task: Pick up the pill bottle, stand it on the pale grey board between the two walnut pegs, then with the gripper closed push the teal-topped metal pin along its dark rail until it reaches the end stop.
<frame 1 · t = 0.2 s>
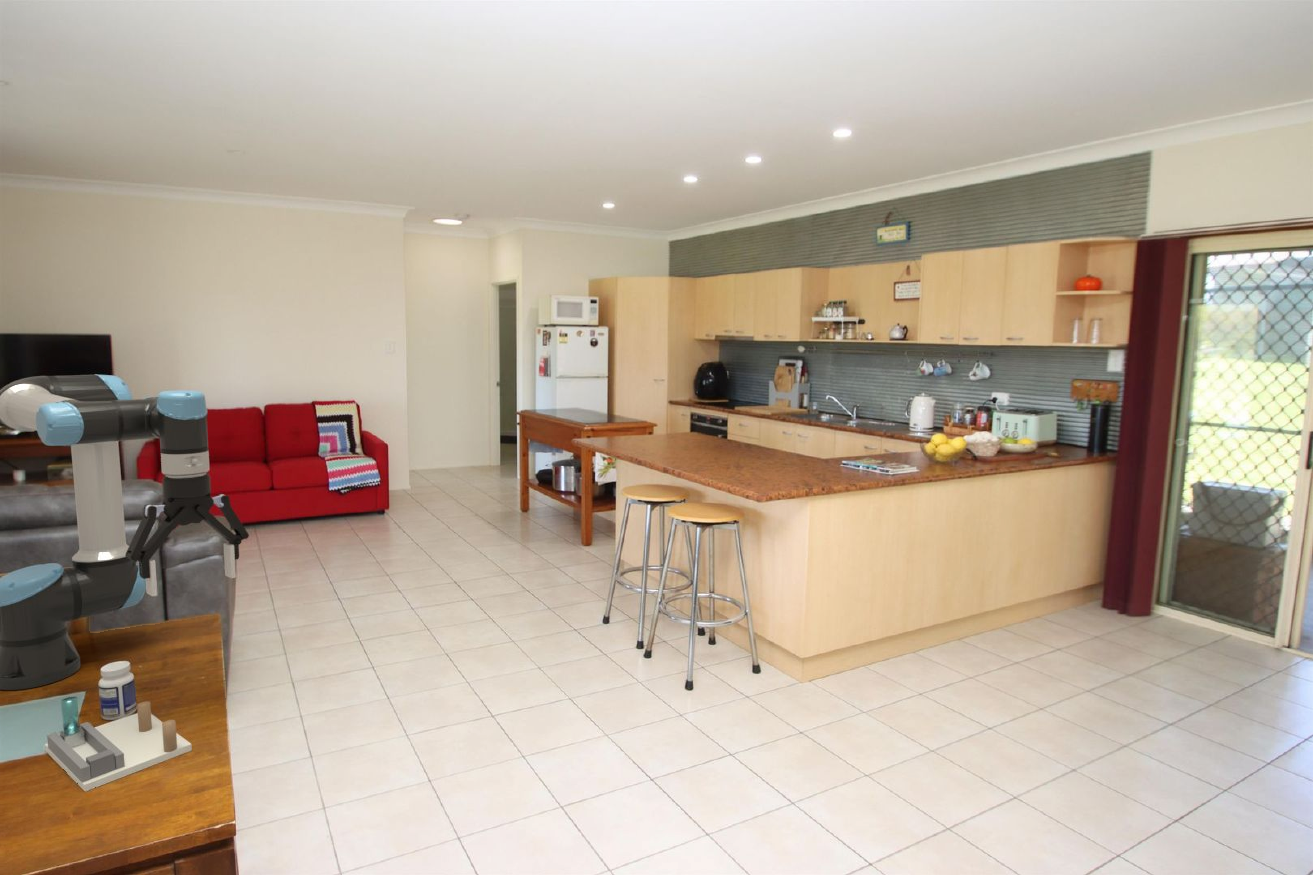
hand: (192, 585, 142), 27 cm above the table, fingers open, 13 cm apart
pill bottle: (119, 714, 148), on the table
board: (118, 750, 135), on the table
pin: (70, 721, 134), point 5 cm above the table, slide at 0.0 cm
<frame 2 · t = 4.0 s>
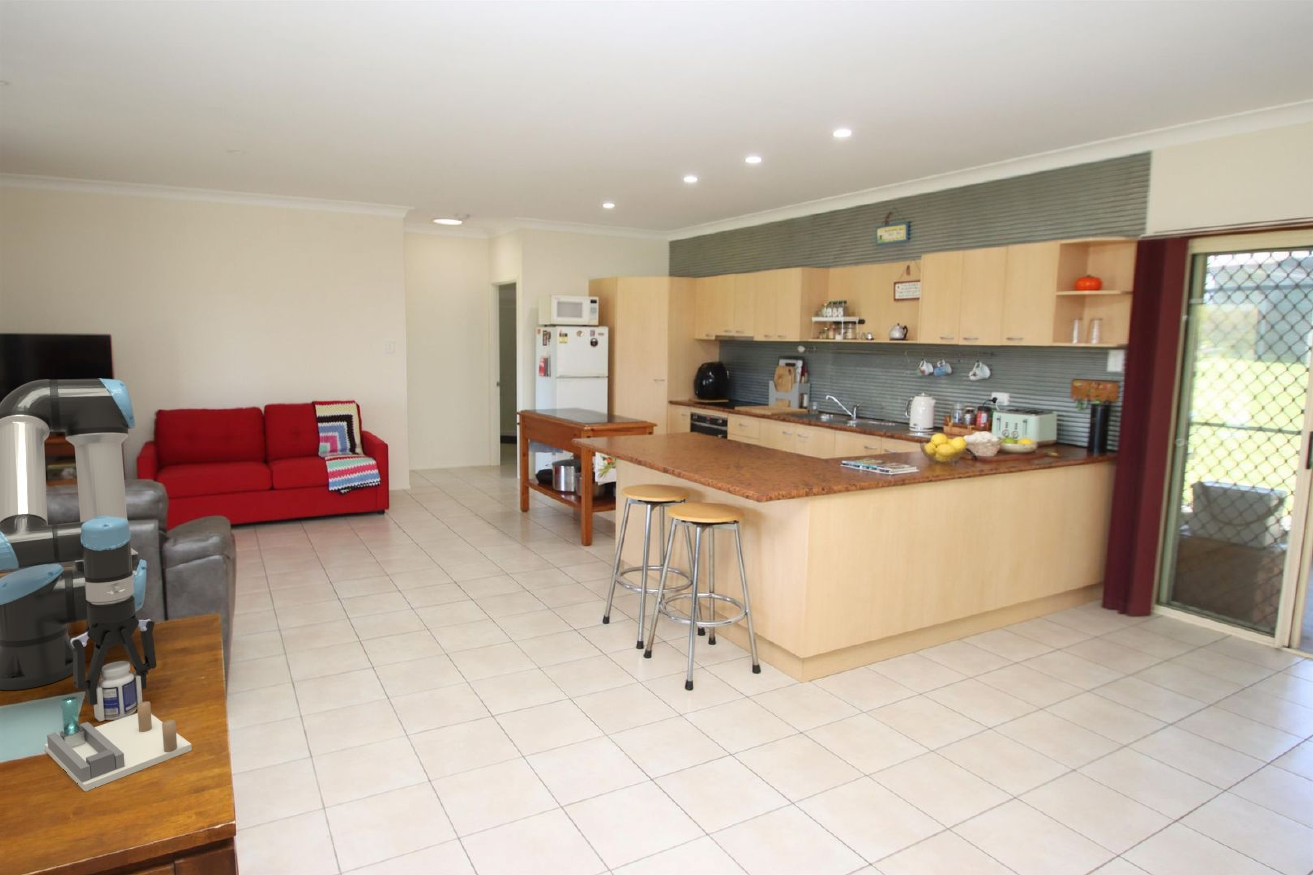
hand: (119, 711, 147), 0 cm above the table, fingers closed on pill bottle, 6 cm apart
pill bottle: (119, 714, 148), on the table, touching gripper
everything else where it was.
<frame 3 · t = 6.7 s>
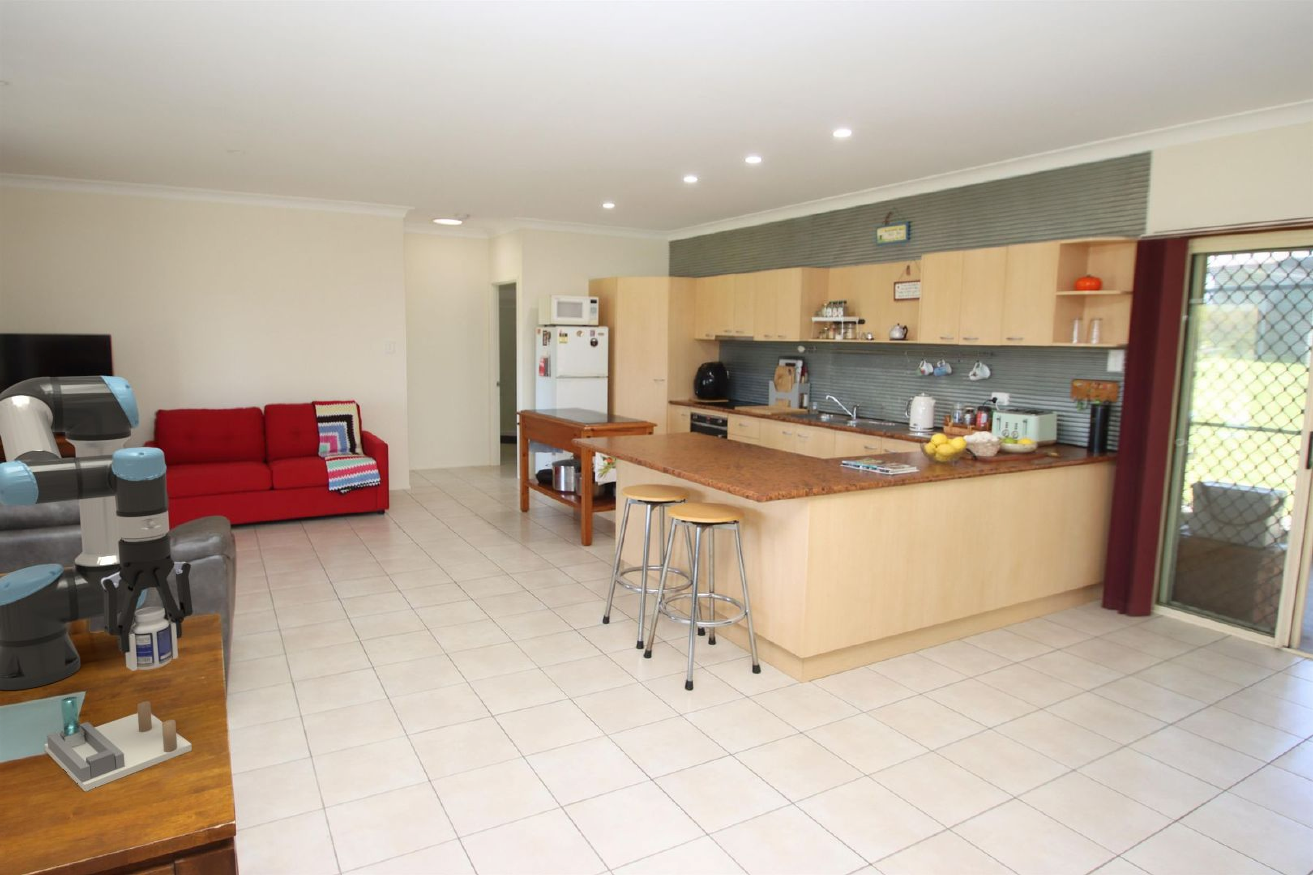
hand: (152, 661, 135), 16 cm above the table, fingers closed on pill bottle, 6 cm apart
pill bottle: (152, 664, 135), point 15 cm above the table, touching gripper
everything else where it was.
when the fingers open (3 cm above the table, at t = 9.6 s): pill bottle drops 2 cm, resting on board.
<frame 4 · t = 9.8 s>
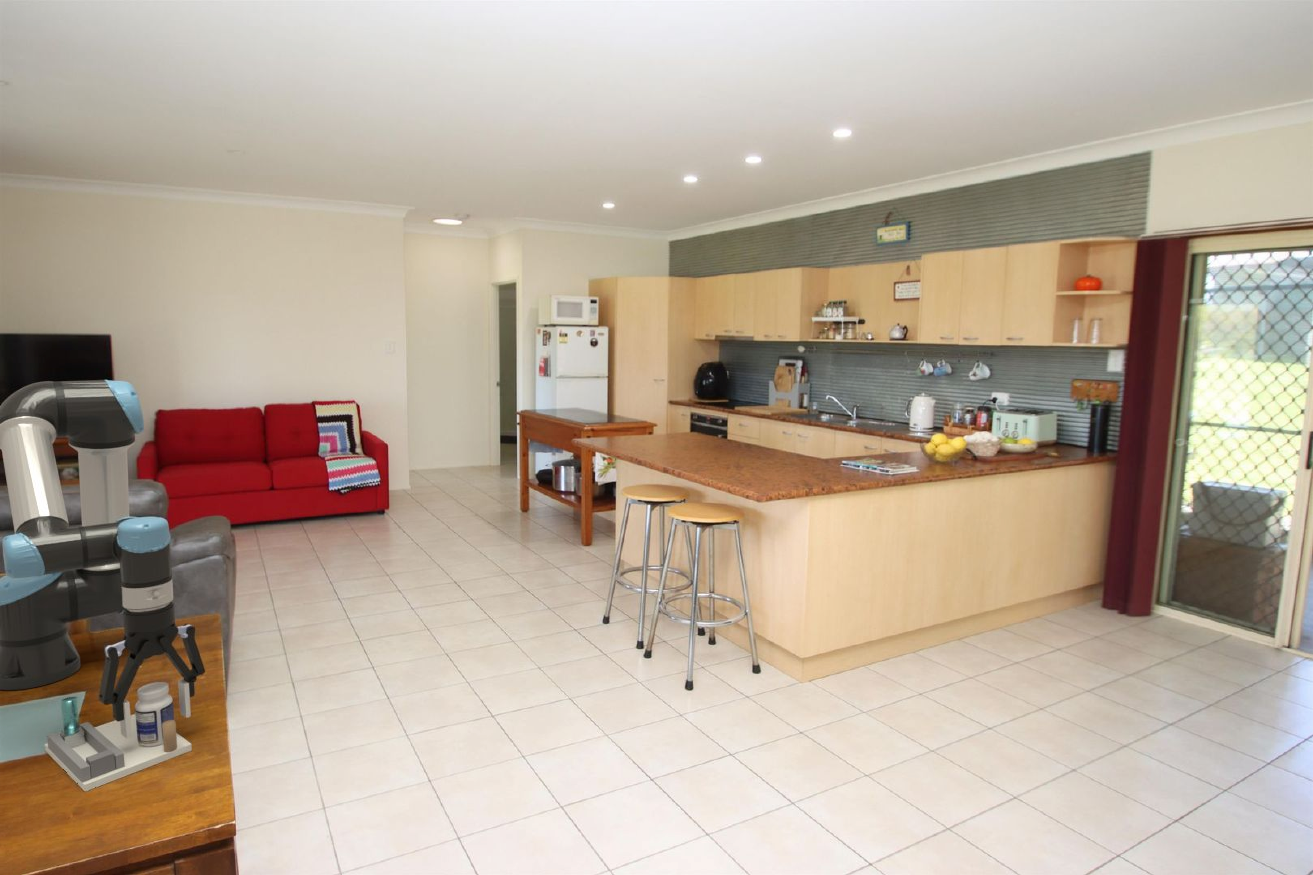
hand: (156, 724, 136), 4 cm above the table, fingers open, 9 cm apart
pill bottle: (156, 740, 136), point 1 cm above the table, touching board
everything else where it was.
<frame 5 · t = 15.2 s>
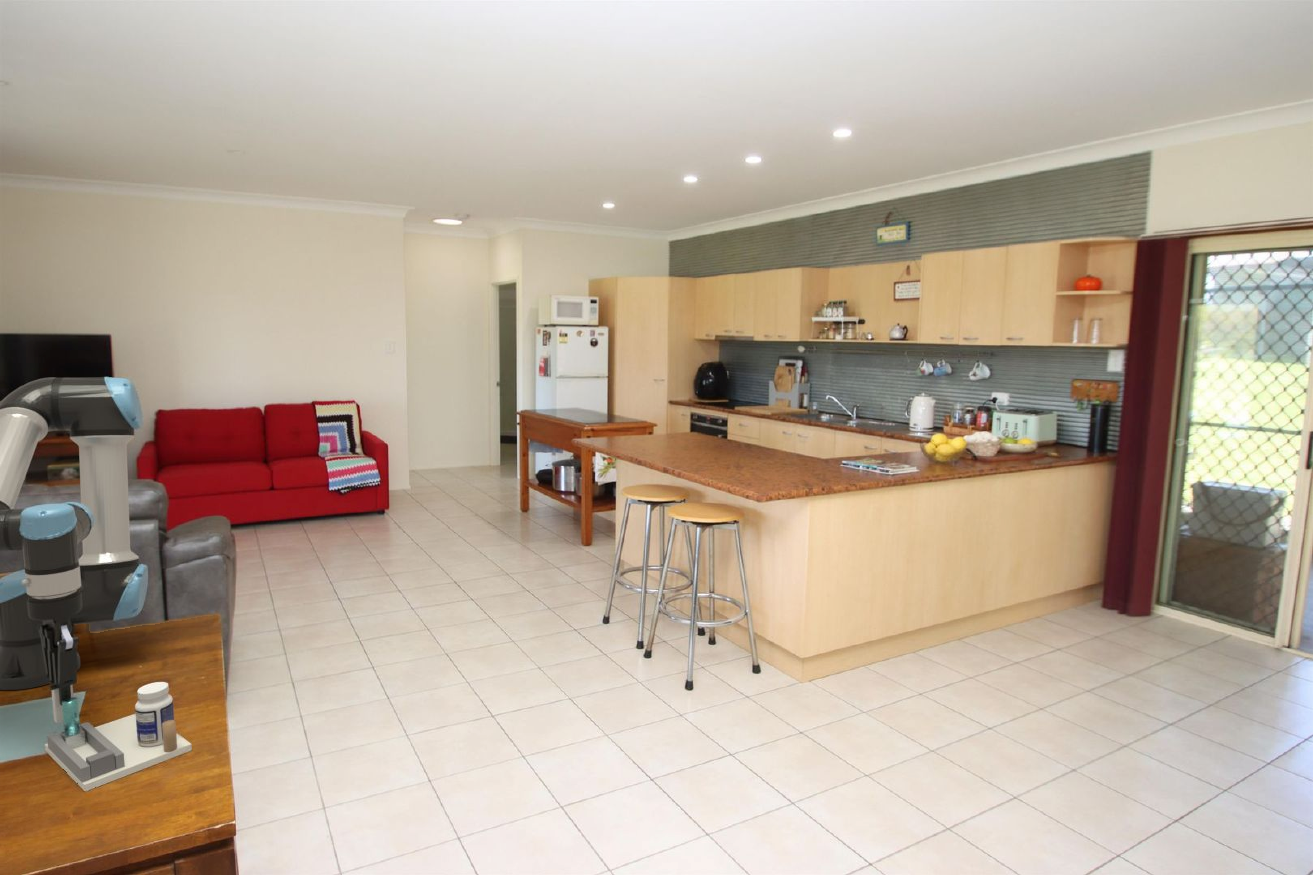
hand: (64, 719, 135), 5 cm above the table, fingers closed
pin: (71, 722, 133), point 5 cm above the table, slide at 0.4 cm, touching gripper
everything else where it was.
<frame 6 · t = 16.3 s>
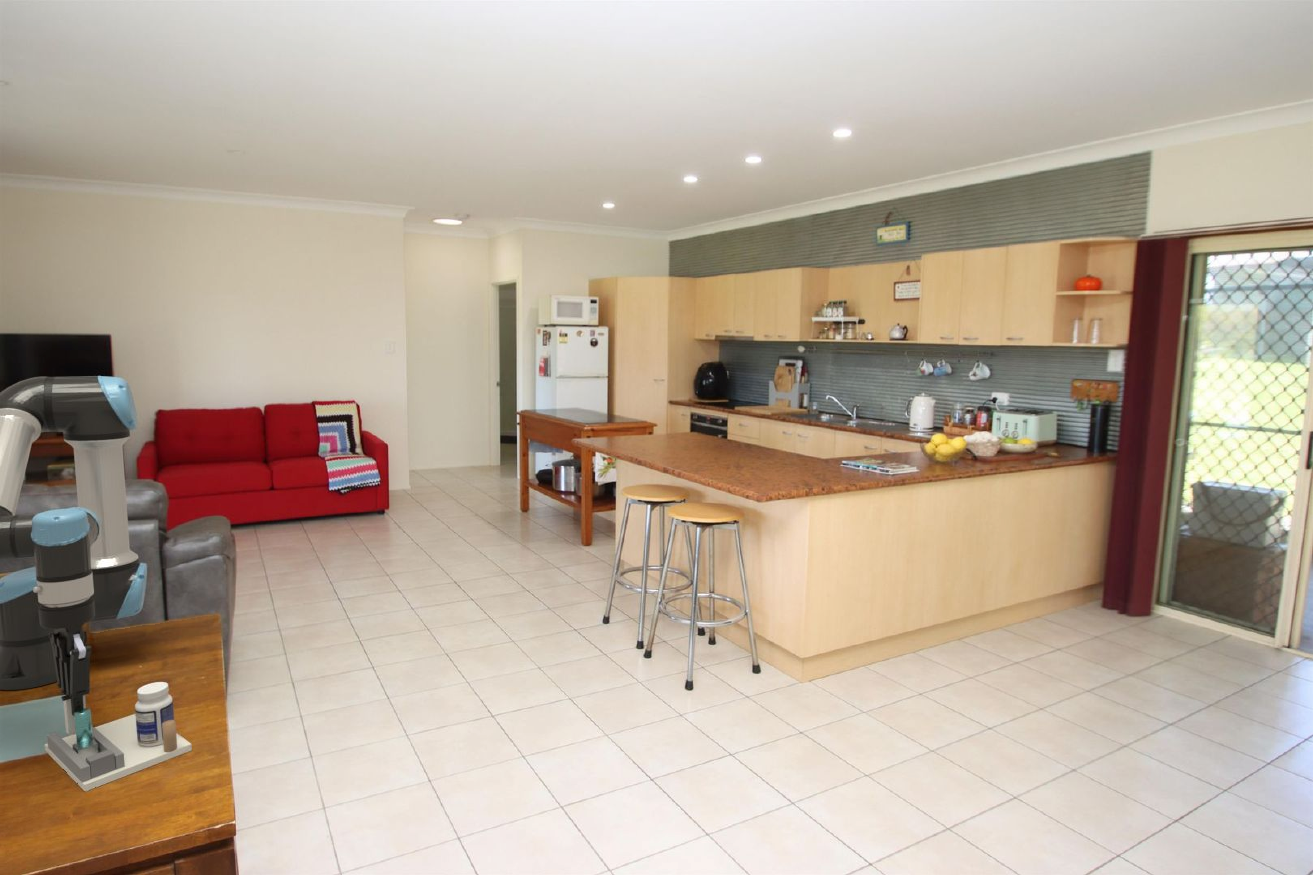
hand: (76, 730, 131), 5 cm above the table, fingers closed
pin: (84, 734, 130), point 5 cm above the table, slide at 6.7 cm, touching gripper
everything else where it was.
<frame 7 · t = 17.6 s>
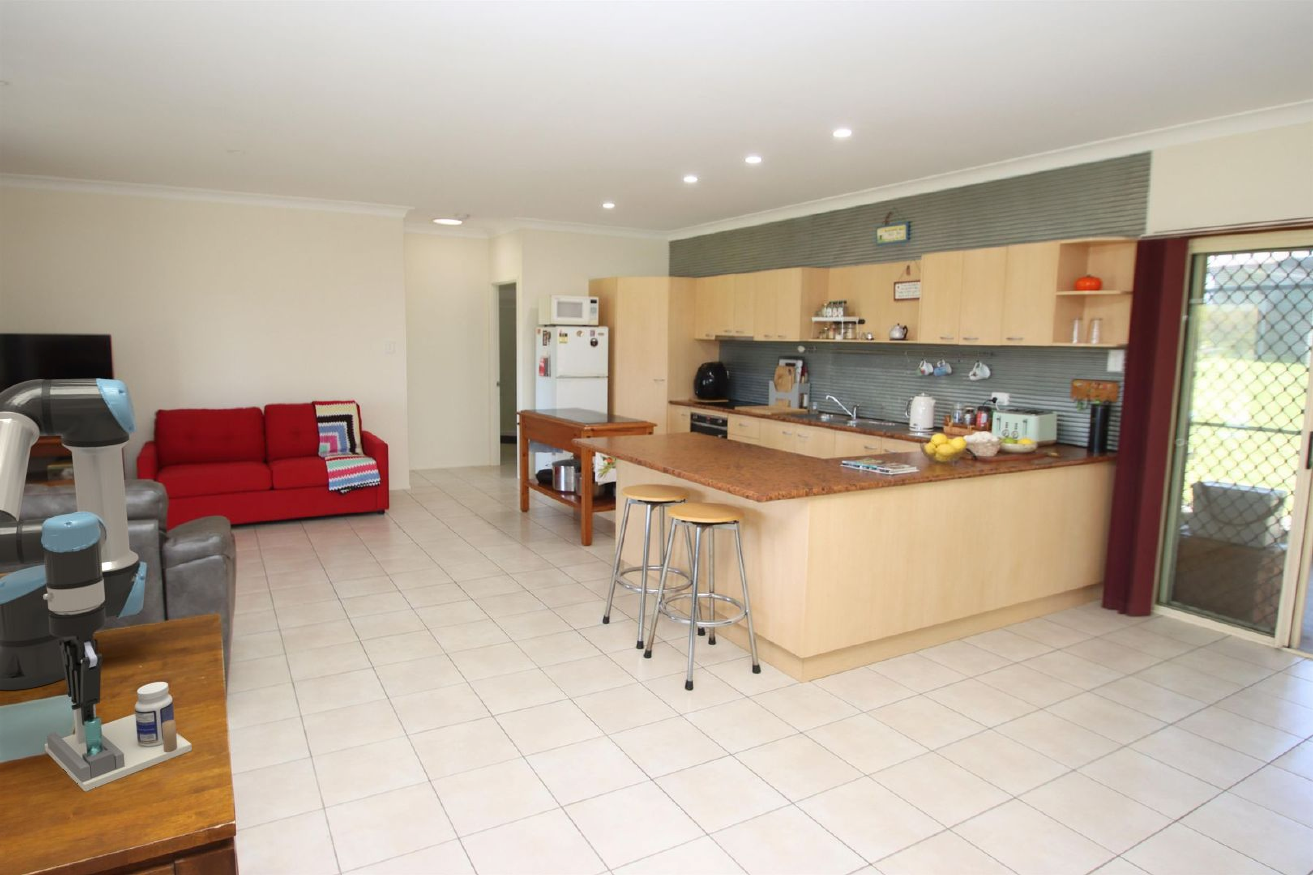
hand: (86, 739, 129), 5 cm above the table, fingers closed
pin: (94, 743, 127), point 5 cm above the table, slide at 11.5 cm, touching board, gripper
everything else where it was.
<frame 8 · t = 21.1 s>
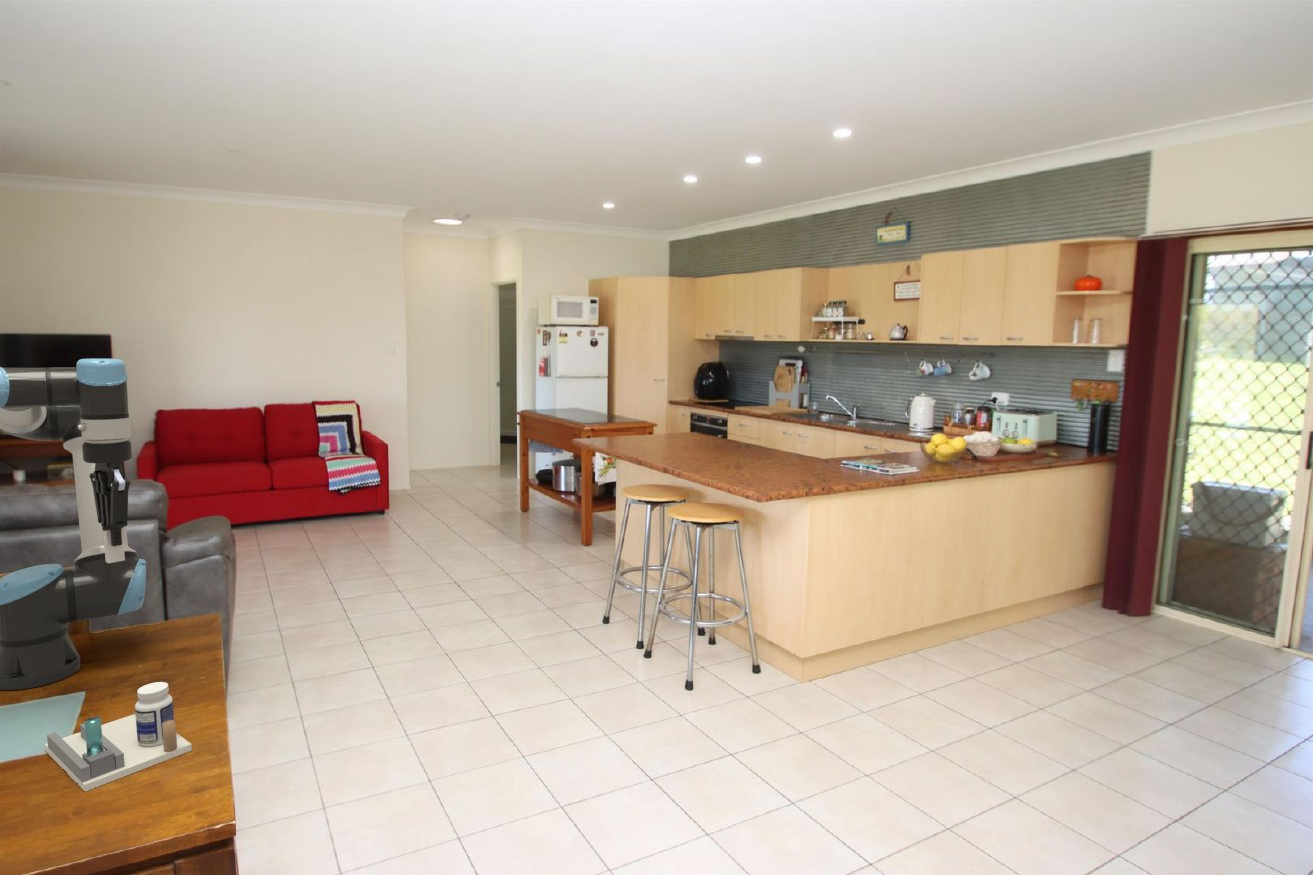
hand: (115, 560, 145), 30 cm above the table, fingers closed
pin: (94, 743, 127), point 5 cm above the table, slide at 11.5 cm, touching board
everything else where it was.
at the end: pill bottle inside the target area (0.2 cm from its centre), point 1.0 cm above the table; pill bottle tilted 0°; pin slide at 11.5 cm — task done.
